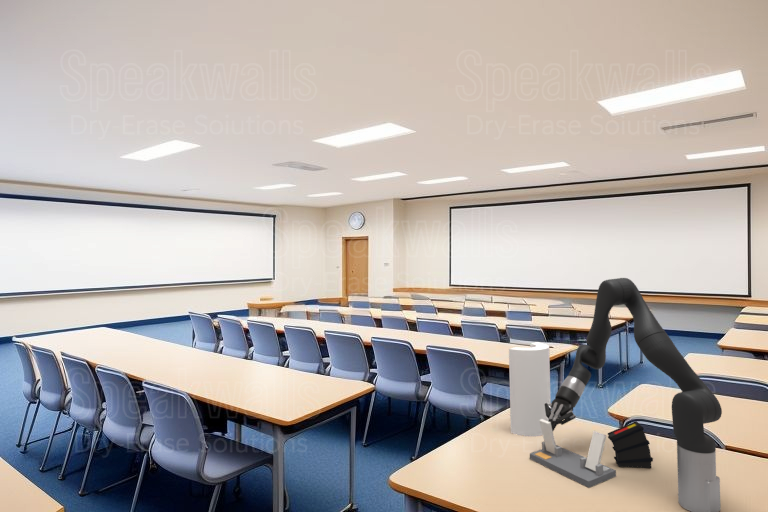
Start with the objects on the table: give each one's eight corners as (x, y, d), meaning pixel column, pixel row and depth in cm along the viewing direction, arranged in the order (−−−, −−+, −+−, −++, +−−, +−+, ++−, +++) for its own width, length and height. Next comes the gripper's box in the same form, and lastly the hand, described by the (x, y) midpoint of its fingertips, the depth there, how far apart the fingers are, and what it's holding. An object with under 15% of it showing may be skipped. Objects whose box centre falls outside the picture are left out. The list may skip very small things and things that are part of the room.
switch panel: (616, 476, 148) (615, 461, 148) (588, 487, 141) (588, 471, 141) (555, 450, 169) (555, 436, 169) (529, 458, 162) (529, 445, 162)
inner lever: (598, 472, 146) (606, 435, 149) (595, 471, 146) (604, 434, 148) (587, 467, 150) (595, 431, 152) (585, 466, 149) (593, 430, 152)
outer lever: (557, 452, 160) (550, 422, 159) (555, 454, 160) (548, 423, 158) (548, 448, 164) (541, 418, 162) (546, 450, 163) (539, 420, 162)
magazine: (662, 464, 152) (641, 424, 153) (625, 479, 153) (605, 439, 154) (657, 459, 156) (636, 420, 157) (621, 474, 157) (601, 435, 158)
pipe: (509, 432, 187) (536, 420, 200) (533, 440, 178) (560, 427, 191) (507, 348, 187) (535, 341, 200) (531, 352, 178) (558, 345, 191)
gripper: (551, 381, 172) (528, 419, 166) (581, 390, 160) (557, 431, 155) (560, 392, 175) (539, 430, 169) (590, 402, 163) (568, 443, 157)
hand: (548, 430), depth 162 cm, fingers closed
